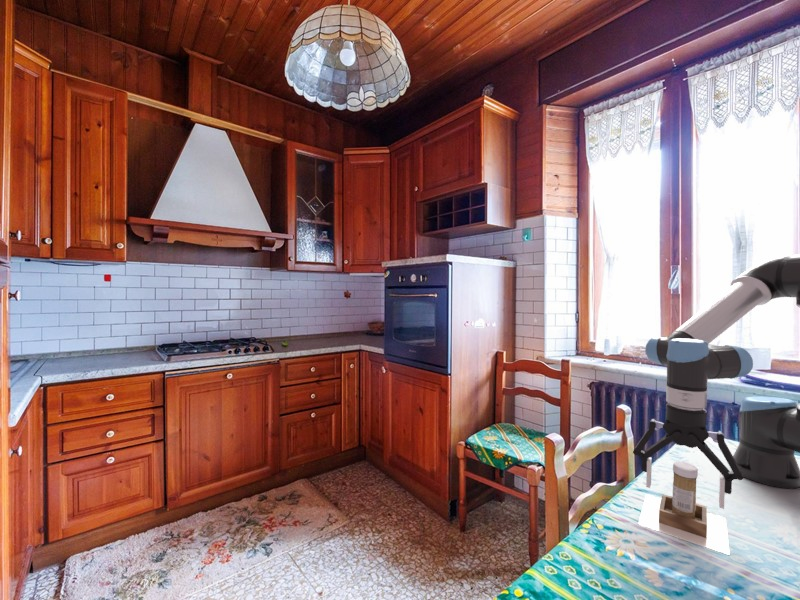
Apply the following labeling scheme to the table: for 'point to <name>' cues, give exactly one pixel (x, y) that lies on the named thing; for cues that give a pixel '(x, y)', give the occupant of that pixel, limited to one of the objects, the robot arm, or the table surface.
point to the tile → (713, 540)
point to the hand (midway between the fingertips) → (683, 495)
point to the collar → (683, 518)
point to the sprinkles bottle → (684, 489)
